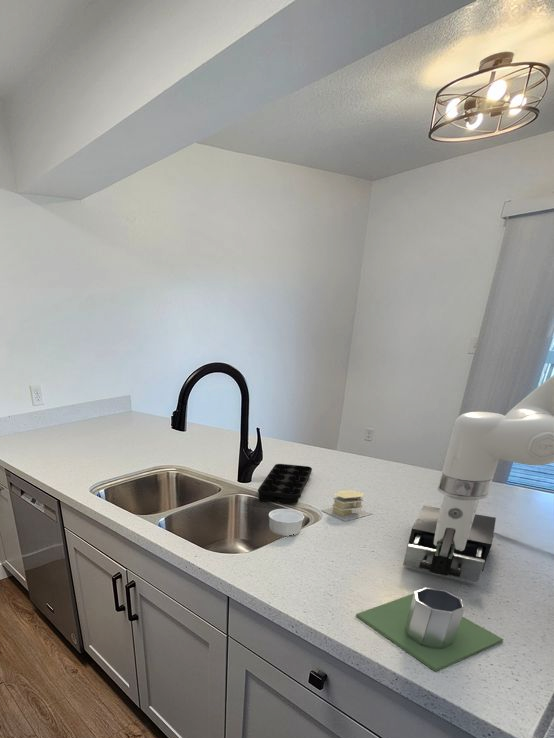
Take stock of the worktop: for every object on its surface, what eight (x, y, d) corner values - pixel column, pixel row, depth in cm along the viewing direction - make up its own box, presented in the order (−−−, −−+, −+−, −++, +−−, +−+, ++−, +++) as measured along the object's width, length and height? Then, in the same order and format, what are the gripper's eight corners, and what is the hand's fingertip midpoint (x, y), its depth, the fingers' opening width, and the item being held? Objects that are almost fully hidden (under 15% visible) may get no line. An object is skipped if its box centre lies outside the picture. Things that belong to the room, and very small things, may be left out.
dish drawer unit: (482, 571, 92) (492, 544, 89) (405, 554, 100) (411, 528, 97) (487, 542, 103) (496, 517, 100) (417, 529, 111) (423, 505, 108)
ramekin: (292, 521, 120) (294, 506, 118) (308, 535, 112) (310, 519, 110) (262, 525, 118) (263, 510, 116) (276, 539, 111) (277, 524, 109)
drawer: (475, 593, 84) (483, 572, 82) (398, 574, 92) (403, 554, 89) (482, 553, 97) (489, 534, 95) (415, 539, 105) (419, 521, 102)
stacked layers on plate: (345, 521, 118) (348, 502, 115) (321, 510, 125) (323, 492, 122) (372, 513, 121) (375, 495, 118) (347, 503, 128) (350, 486, 126)
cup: (461, 641, 73) (473, 604, 69) (432, 653, 71) (443, 616, 67) (424, 619, 78) (434, 584, 75) (396, 629, 76) (405, 594, 73)
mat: (502, 642, 73) (503, 639, 73) (435, 671, 68) (436, 669, 68) (417, 594, 86) (418, 591, 86) (355, 616, 81) (356, 613, 81)
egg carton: (310, 474, 153) (311, 463, 151) (318, 506, 127) (319, 494, 126) (258, 473, 157) (259, 463, 156) (256, 504, 132) (257, 492, 130)
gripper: (487, 502, 70) (457, 596, 78) (492, 475, 80) (465, 561, 89) (433, 494, 74) (410, 584, 83) (444, 469, 85) (423, 552, 93)
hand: (438, 572), depth 86 cm, fingers closed
